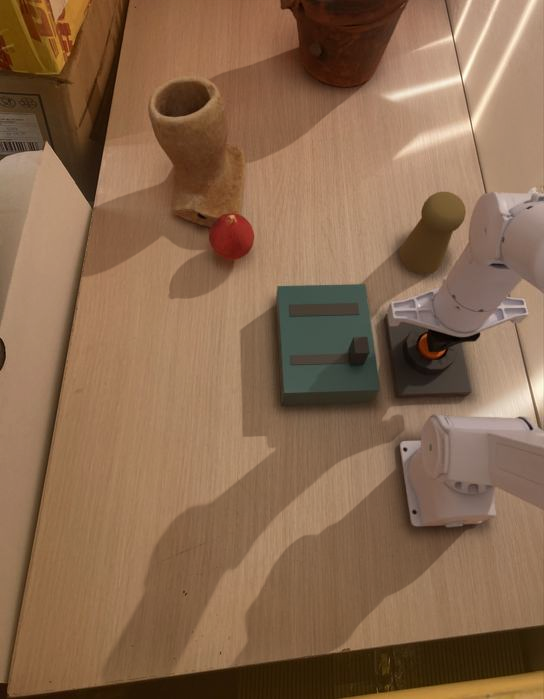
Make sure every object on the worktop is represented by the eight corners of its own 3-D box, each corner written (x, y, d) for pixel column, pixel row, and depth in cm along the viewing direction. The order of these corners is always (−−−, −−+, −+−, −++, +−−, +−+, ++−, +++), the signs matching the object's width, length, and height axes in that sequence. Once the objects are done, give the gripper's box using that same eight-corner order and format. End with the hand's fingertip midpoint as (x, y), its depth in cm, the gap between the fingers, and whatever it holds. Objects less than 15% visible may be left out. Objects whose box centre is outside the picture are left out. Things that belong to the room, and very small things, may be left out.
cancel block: (468, 395, 66) (477, 387, 63) (395, 398, 65) (402, 389, 63) (451, 316, 70) (459, 305, 68) (383, 317, 70) (389, 306, 67)
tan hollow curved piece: (171, 146, 81) (155, 55, 67) (250, 154, 81) (250, 64, 67) (152, 228, 74) (130, 146, 61) (238, 236, 74) (235, 157, 61)
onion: (203, 260, 73) (197, 223, 65) (224, 229, 75) (221, 190, 67) (240, 277, 72) (239, 242, 64) (261, 246, 74) (262, 208, 67)
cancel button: (443, 361, 66) (448, 356, 64) (418, 362, 66) (422, 356, 64) (439, 338, 67) (443, 332, 66) (414, 339, 67) (418, 332, 65)
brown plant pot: (278, 21, 93) (284, -100, 77) (393, 28, 94) (423, -91, 77) (274, 95, 86) (280, -22, 69) (399, 102, 86) (433, -12, 70)
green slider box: (372, 402, 65) (380, 389, 61) (281, 405, 64) (283, 392, 60) (358, 301, 71) (365, 283, 67) (275, 303, 70) (277, 285, 66)
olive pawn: (441, 278, 73) (472, 228, 63) (397, 269, 73) (420, 218, 63) (444, 242, 75) (474, 188, 65) (401, 234, 76) (425, 179, 66)
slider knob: (363, 365, 62) (369, 353, 59) (349, 365, 62) (355, 353, 59) (361, 349, 63) (367, 336, 60) (348, 349, 63) (353, 336, 59)
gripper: (537, 250, 55) (484, 313, 67) (397, 253, 54) (369, 316, 66) (556, 312, 52) (496, 366, 64) (407, 315, 51) (376, 369, 63)
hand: (432, 344), depth 65 cm, fingers closed, pressing on cancel button
